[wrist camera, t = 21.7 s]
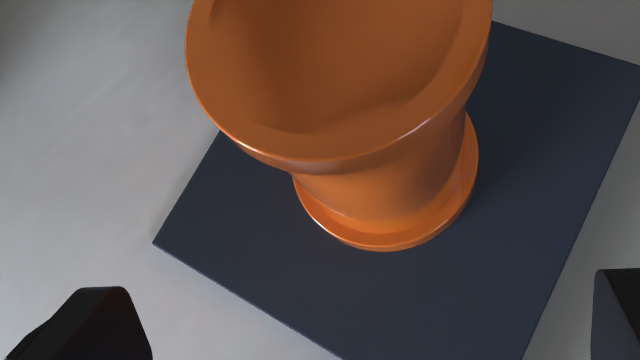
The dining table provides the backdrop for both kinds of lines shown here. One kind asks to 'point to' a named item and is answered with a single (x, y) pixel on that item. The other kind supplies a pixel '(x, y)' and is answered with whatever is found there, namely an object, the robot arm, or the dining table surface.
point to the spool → (350, 104)
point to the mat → (447, 247)
